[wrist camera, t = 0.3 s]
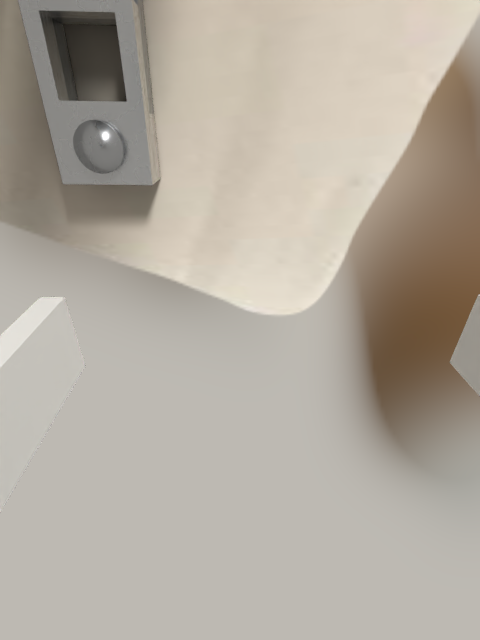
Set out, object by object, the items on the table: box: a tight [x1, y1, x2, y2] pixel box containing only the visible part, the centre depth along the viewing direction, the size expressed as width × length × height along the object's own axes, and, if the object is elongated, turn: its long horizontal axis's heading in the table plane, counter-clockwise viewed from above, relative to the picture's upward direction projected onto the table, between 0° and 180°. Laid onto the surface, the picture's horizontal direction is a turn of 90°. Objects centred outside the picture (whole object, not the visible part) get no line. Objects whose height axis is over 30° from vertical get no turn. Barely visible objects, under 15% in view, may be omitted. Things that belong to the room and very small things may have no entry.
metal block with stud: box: [18, 0, 161, 185], centre depth 26 cm, size 21×8×5 cm, turn 179°
